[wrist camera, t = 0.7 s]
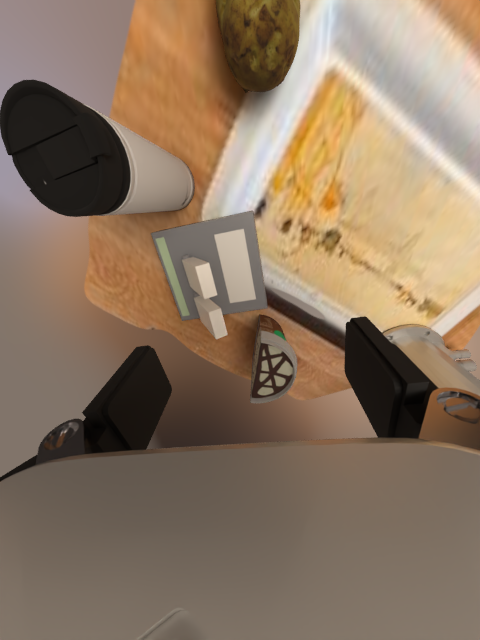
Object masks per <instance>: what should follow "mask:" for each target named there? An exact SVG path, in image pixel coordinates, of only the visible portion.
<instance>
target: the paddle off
mask: <svg viewBox="0 0 480 640" xmlns="http://www.w3.org/2000/svg"><path fill="white" fill-rule="evenodd" d="M194 296H195V298H194V300H195V304H196V307H197V310H198V313H199V316H200V319H201V321H202V323H203V324H204V325H205V326H206V328H207V329H208V330H209V331H210V333H211V334H212V335H213V336H214V337H215V339H219V338H221V337H224V336H226V335H228V334H227V330H226V326H225V322H224V319H223V315H222V311H221V308H220V307H219V306H218V305H216V304H215V303H214V302H213V301H212V300H210V299H209V298H207V299H204V298H202V297H201V296H200V295H199V294H198V293H197V292H194Z"/></svg>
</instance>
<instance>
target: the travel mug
mask: <svg viewBox="0 0 480 640" xmlns="http://www.w3.org/2000/svg"><path fill="white" fill-rule="evenodd" d="M0 129H1V135H2V139H3V142H4V145H5V147H6V150H7V153H8V155H12V157H13V162H14V164H15V167H16V168H17V170H18V172H19V174H20V176H21V177H22V179H23V180H24V181H25V183H26V184H27V186H28V187H29V188H31V190H30V191H31V192H32V193H33V195H34V196H35V197H36V198H37V199H38V200H39V201H40V202H41V203H42V204H43V205H45V206H46V207H48V208H49V209H51V210H53V211H55V212H57V213H59V214H62V215H65V216H74V217H78V216H93V215H96V216H105V215H120V214H134V213H148V212H161V211H175V210H181V209H183V208H185V207H186V206H187V205H188V204H189V203H190V202H191V200H192V198H193V195H194V189H195V186H194V179H193V175H192V173H191V171H190V169H189V167H188V166H187V165H186V164H185V163H184V162H183V161H182V160H181V159H179V158H177V157H176V156H174V155H172V154H171V153H169V152H167V151H165V150H164V149H162V148H160V147H158V146H157V145H155V144H153V143H152V142H150V141H148V140H146V139H145V138H143V137H141V136H140V135H138V134H136V133H134V132H133V131H131V130H129V129H128V128H126V127H124V126H122V125H121V124H119V123H117V122H115V121H114V120H112V119H110V118H109V117H107V116H105V115H103V114H101V113H100V112H98V111H97V110H95V109H93V108H91V107H89V106H87V105H85V104H82V103H81V102H79V101H77V100H75V99H73V98H72V97H70V96H68V95H67V94H65V93H63V92H61V91H59V90H58V89H56V88H54V87H52V86H50V85H49V84H47V83H44V82H41V81H37V80H23V81H21V82H18V83H16V84H14V85H13V86H12V87H11V88H10V89H9V90H8V91H7V93H6V95H5V97H4V99H3V101H2V105H1V110H0Z"/></svg>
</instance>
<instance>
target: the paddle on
mask: <svg viewBox="0 0 480 640" xmlns="http://www.w3.org/2000/svg"><path fill="white" fill-rule="evenodd" d="M182 258H183V260H182V262H183V265H184V268H185V272H186V275H187V278H188V281H189V284H190V287H191V288H192V289H193V290H194V291H196V292H197V293H198V294H199V295H200V296H201V297H202V298H204V299H207V298H210V297H213V296H216V295H217V291H216V288H215V284H214V280H213V276H212V272H211V268H210V264H209V262H206V261H203V260H201V259H198V258H195V257H191V258H189V255H184V256H182Z"/></svg>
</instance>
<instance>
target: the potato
mask: <svg viewBox="0 0 480 640" xmlns="http://www.w3.org/2000/svg"><path fill="white" fill-rule="evenodd" d="M216 9H217V17H218V23H219V27H220V31H221V35H222V39H223V43H224V49H225V54H226V58H227V62H228V65H229V67H230V69H231V72H232V74H233V76H234V78H235V79H236V81H237V82H238V84H239V85H240V86H241V87H242V88H243V89H244V91H245V93H246V92H248V91H255V92H265V91H269V90H271V89H273V88H275V87H276V86H278V85H279V84H281V82H282V81H283V80H284V78H285V76H286V75H287V73H288V71H289V69H290V67H291V65H292V63H293V60H294V57H295V54H296V50H297V46H298V41H299V18H300V0H216Z"/></svg>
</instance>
